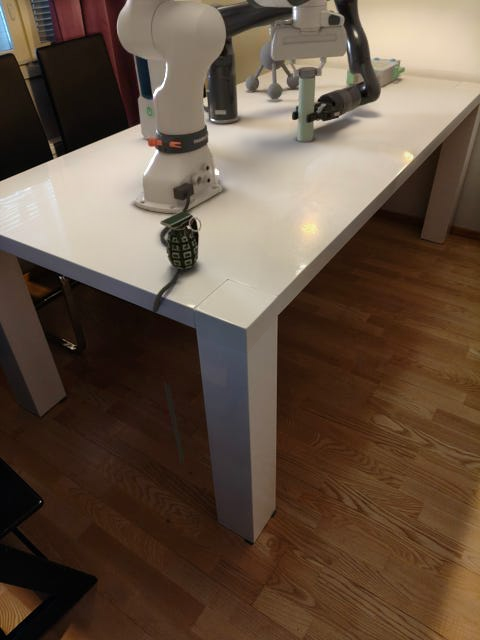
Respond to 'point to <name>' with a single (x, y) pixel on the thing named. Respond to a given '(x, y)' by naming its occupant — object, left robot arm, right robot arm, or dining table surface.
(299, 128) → the mint green cylinder
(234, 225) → the dining table surface
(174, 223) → the grenade
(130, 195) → the dining table surface
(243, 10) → the right robot arm
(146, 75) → the electronic device
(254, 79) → the molecular model
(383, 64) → the grey box with clips
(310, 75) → the lid
